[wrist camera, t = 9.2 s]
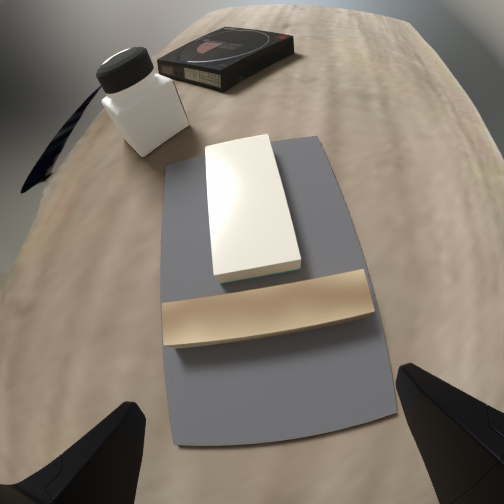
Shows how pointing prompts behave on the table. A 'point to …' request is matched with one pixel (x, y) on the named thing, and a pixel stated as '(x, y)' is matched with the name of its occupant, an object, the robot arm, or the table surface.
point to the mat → (280, 347)
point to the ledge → (267, 311)
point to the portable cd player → (225, 57)
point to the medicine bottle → (141, 100)
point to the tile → (248, 212)
